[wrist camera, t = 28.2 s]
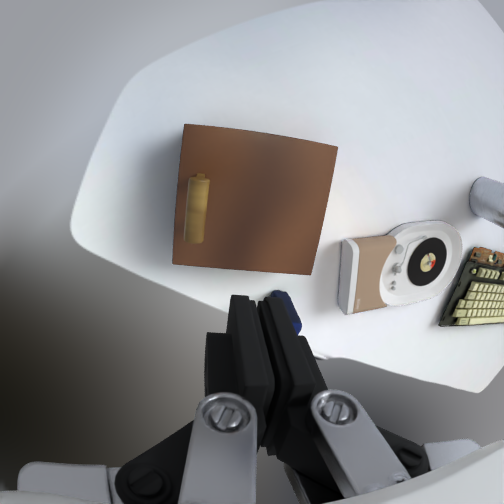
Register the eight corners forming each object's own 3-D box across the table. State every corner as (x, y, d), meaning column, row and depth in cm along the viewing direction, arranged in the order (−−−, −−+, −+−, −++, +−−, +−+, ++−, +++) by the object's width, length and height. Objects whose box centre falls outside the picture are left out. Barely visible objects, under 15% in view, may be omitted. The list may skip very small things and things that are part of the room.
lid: (173, 261, 30) (166, 287, 25) (185, 123, 25) (178, 122, 20) (308, 272, 32) (325, 298, 27) (335, 146, 27) (360, 151, 22)
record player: (354, 237, 32) (475, 224, 34) (342, 227, 34) (461, 217, 37) (345, 325, 36) (458, 297, 38) (336, 312, 39) (447, 288, 41)
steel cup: (474, 172, 34) (514, 185, 26) (495, 181, 35) (532, 195, 28) (465, 211, 36) (503, 230, 29) (486, 217, 37) (522, 236, 30)
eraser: (272, 288, 36) (284, 321, 30) (289, 291, 37) (304, 324, 31) (266, 303, 37) (277, 338, 31) (283, 306, 38) (296, 340, 32)
